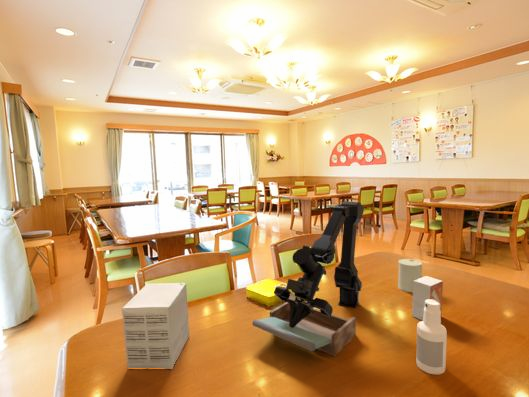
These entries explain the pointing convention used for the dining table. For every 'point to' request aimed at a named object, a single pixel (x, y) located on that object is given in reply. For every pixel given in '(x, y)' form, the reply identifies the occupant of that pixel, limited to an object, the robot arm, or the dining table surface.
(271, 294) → the element tile
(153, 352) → the supplement box
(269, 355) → the dining table surface
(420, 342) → the spray bottle
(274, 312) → the open wooden crate
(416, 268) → the can
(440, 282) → the small box
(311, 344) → the panel
